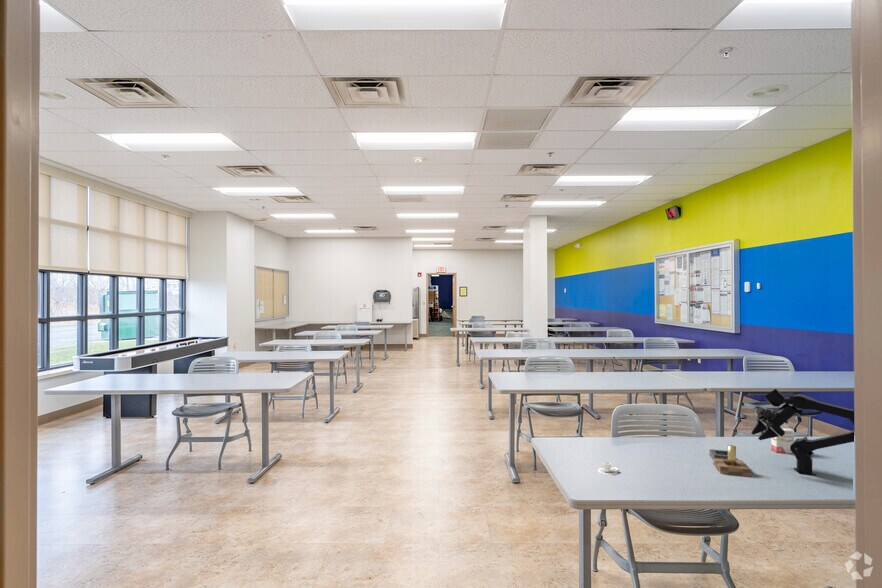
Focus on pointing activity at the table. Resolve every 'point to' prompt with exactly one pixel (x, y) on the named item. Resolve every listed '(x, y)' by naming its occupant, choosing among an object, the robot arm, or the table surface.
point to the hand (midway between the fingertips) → (755, 436)
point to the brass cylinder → (732, 455)
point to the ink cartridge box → (783, 440)
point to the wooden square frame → (731, 467)
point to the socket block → (718, 454)
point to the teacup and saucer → (608, 468)
